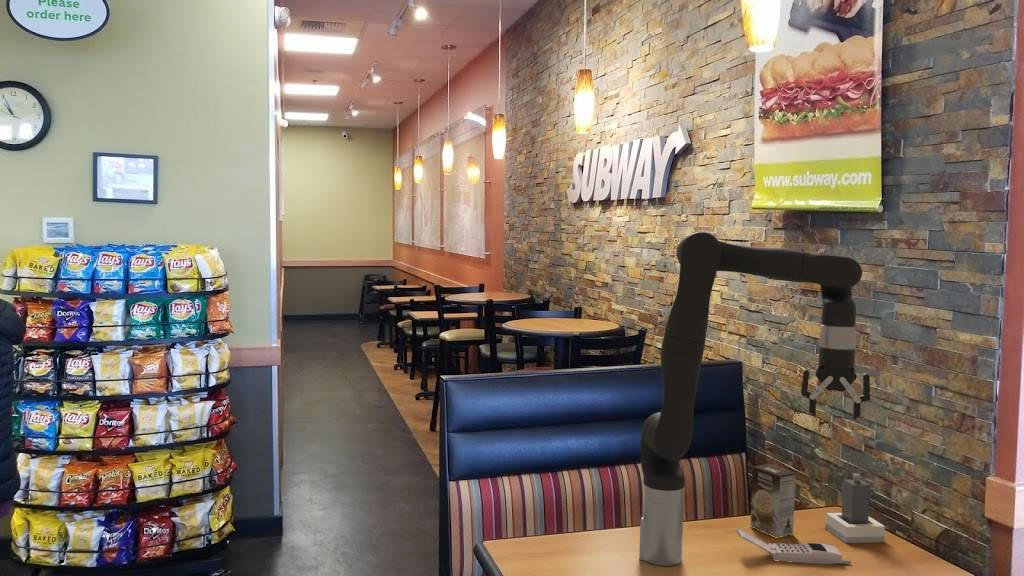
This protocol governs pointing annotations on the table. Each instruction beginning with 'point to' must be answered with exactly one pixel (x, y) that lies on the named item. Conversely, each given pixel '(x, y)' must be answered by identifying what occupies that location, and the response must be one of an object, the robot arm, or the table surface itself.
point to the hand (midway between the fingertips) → (833, 417)
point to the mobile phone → (798, 551)
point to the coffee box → (773, 499)
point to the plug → (855, 501)
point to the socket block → (854, 529)
